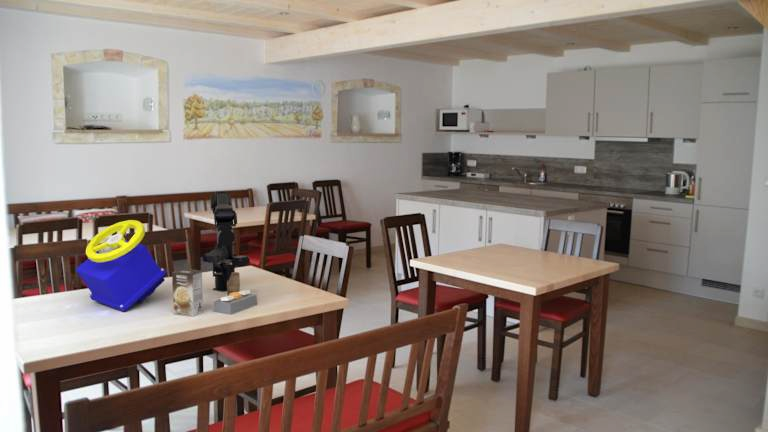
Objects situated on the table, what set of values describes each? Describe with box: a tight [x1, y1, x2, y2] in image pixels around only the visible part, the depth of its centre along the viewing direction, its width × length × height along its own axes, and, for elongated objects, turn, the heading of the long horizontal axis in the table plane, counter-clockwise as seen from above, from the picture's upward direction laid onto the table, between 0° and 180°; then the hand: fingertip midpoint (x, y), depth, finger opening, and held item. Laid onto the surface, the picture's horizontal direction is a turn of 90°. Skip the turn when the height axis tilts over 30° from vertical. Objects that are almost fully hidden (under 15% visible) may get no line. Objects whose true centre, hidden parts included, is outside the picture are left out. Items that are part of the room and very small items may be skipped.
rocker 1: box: [220, 295, 234, 301], centre depth 237 cm, size 4×3×1 cm
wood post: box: [226, 271, 241, 296], centre depth 256 cm, size 5×5×10 cm
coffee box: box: [171, 268, 204, 318], centre depth 234 cm, size 9×6×16 cm
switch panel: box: [213, 293, 258, 315], centre depth 242 cm, size 8×15×4 cm, turn 152°
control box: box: [75, 219, 168, 313], centre depth 244 cm, size 26×27×30 cm
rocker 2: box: [237, 289, 251, 295], centre depth 245 cm, size 4×3×1 cm
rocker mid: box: [229, 292, 242, 299], centre depth 241 cm, size 4×3×1 cm
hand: (226, 281), depth 242 cm, fingers closed
